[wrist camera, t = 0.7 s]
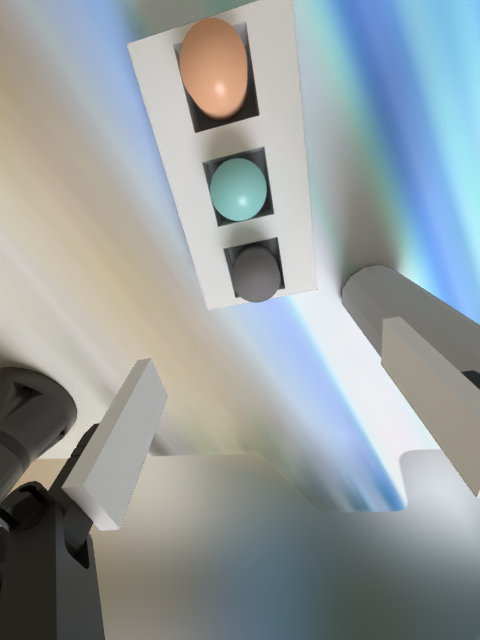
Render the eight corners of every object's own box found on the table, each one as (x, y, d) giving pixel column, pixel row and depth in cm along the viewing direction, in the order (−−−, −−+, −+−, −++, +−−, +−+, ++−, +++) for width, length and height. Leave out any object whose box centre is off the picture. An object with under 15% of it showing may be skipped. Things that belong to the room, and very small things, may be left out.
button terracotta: (202, 127, 23) (191, 116, 19) (186, 60, 21) (170, 30, 16) (252, 113, 22) (253, 98, 18) (241, 43, 20) (239, 7, 16)
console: (213, 292, 34) (208, 309, 29) (149, 68, 24) (126, 44, 19) (308, 274, 32) (317, 289, 28) (283, 26, 22) (291, -11, 18)
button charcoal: (239, 287, 30) (237, 306, 25) (230, 248, 28) (227, 262, 23) (278, 279, 29) (283, 297, 25) (272, 239, 27) (276, 251, 23)
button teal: (223, 217, 26) (218, 226, 22) (211, 168, 24) (203, 166, 20) (267, 207, 26) (270, 214, 21) (258, 155, 24) (261, 151, 19)
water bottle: (331, 315, 35) (471, 552, 13) (348, 256, 31) (587, 450, 9) (400, 322, 35) (652, 566, 13) (425, 264, 31) (838, 471, 9)
